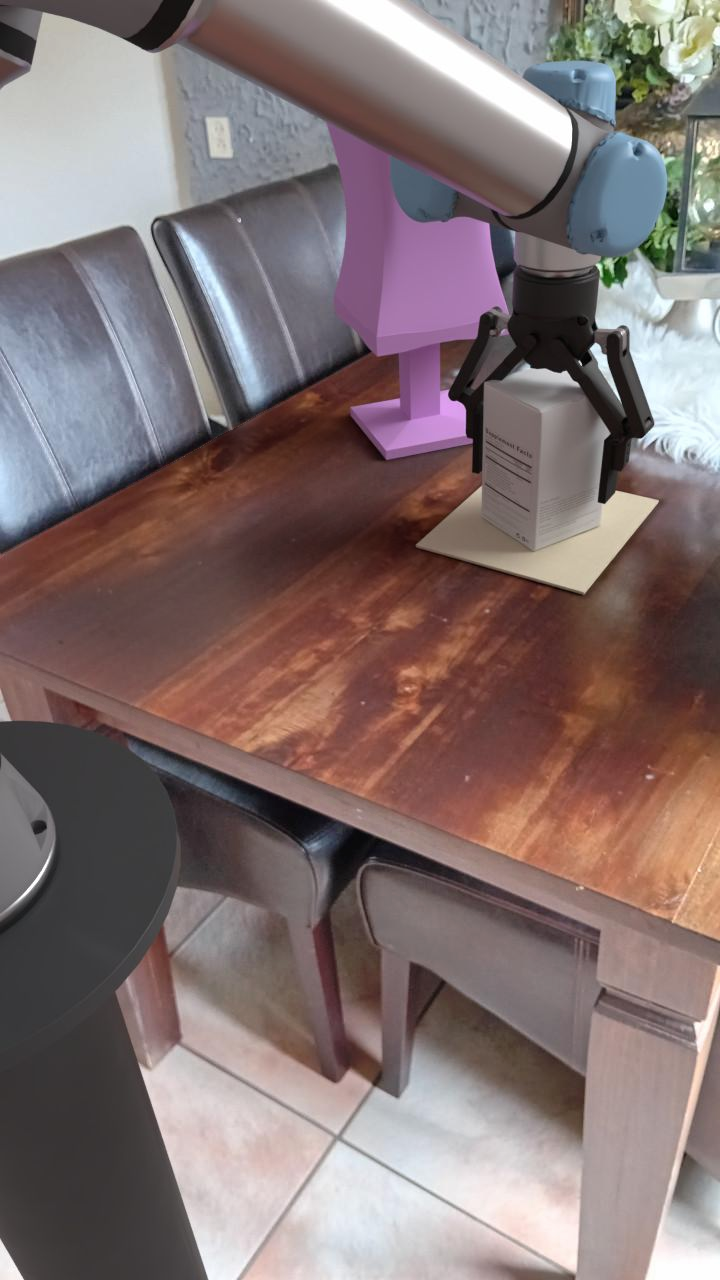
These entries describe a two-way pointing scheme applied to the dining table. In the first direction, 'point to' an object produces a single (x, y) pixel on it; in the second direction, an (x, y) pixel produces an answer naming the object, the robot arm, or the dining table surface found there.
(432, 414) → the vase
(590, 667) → the dining table surface
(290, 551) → the dining table surface
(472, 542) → the placemat
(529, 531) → the rectangular carton
